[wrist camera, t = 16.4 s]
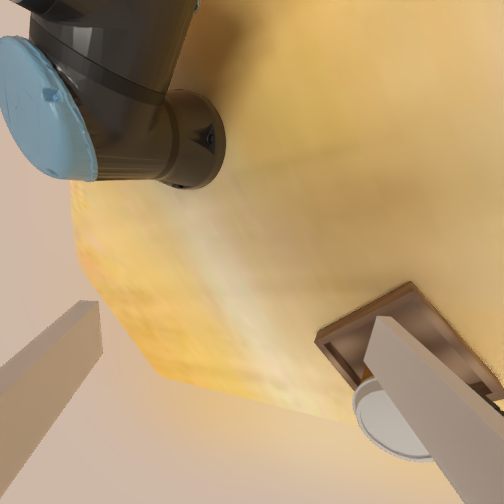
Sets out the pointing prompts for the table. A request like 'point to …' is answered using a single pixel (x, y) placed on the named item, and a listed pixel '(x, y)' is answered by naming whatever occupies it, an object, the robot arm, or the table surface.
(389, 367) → the robot arm
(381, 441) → the disposable coffee cup
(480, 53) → the table surface
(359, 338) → the walnut tray
